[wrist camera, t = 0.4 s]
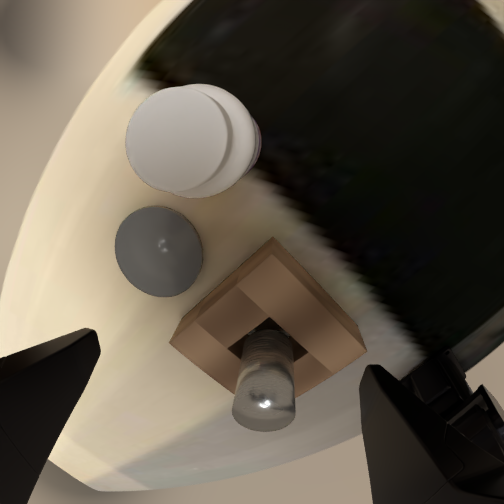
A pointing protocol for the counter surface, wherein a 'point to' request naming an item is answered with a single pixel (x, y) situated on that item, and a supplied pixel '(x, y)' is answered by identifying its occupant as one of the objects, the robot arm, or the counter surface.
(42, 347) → the robot arm
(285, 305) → the socket block
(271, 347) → the plug
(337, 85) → the counter surface
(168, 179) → the pill bottle
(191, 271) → the coaster
